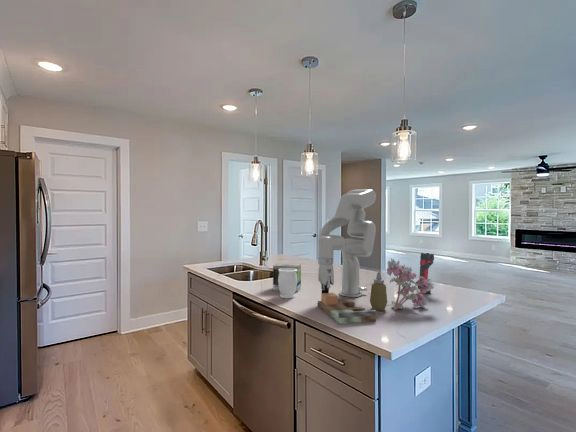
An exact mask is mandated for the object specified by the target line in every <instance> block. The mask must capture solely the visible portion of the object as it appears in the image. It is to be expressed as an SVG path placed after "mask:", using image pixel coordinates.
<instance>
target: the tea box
mask: <svg viewBox="0 0 576 432" xmlns="http://www.w3.org/2000/svg"><path fill="white" fill-rule="evenodd" d="M280 268H295V269H297V272H296V274H297V286H296V291H295V293H297V292H299V291H300V290H301V289H302V288H301V287H302V264H300V263H299V264H298V263H295V264H294V263H276V264H275V265H273V266H272V273H273V274H272V289H273V291H279V292H280V290H279V284H278V276H279V271H278V269H280Z"/></svg>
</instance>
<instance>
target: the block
mask: <svg viewBox="0 0 576 432" xmlns="http://www.w3.org/2000/svg"><path fill="white" fill-rule="evenodd" d="M320 297H321V299H320V301H321V302H323V303H324V304H325V305H332V304H338V300H339V299H338V298H339V295H337V294H336V293H334V292H329V293H322V292H321V296H320Z"/></svg>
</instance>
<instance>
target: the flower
mask: <svg viewBox="0 0 576 432" xmlns="http://www.w3.org/2000/svg"><path fill="white" fill-rule="evenodd" d="M386 271H387V272H386V273H387V275H389V276H390V277H391V276H392V274H393V275H394V277H391V278H390V279H389V284H391V282H392V283H393V282H395V283H396V284H395V286H398V289H397V292H396V294H397V298H396V301H394V300H391V306H392V307H393V309H392V311H396V310H397V309H401V310H403V308H404V305H403V304H405V303H406V302H407V300H410V301H411V302H412V303H413V304H412V305H413V306H414V307H417V308H418V307H421V308H422V309H424V308H425V307H426V306H428V302H429V301H428V299H426V298H425V296H424V294H427V293H426V292H427V291H432V290H433V289H435V287H434V286H435V284H434V282H433V281H431V280H432V279H431V278H428V279H427V280H425V278H424V277H420V276H419V277H418V279H417V280H416V281H414V279H415V278H417V274H416V272H412V271H413V269H412V268H411V266H407V267H406V265H405V264H403V265H402V264H401V265H400V260H399V259H398V260H397V261H396V260H395V258H392V257H391V258H390V259H389V260H388V261H387V268H386ZM419 279H421V280H422V281H420V280H419ZM412 284H414V285H412ZM418 286H420V287H422V288H421V289H418ZM401 287H402V288H401ZM415 291H416V292H417V293H415ZM410 292H411V293H410ZM409 293H410V294H409ZM400 295H401V296H403V297H402V298H401V299H400Z"/></svg>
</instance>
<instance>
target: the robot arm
mask: <svg viewBox="0 0 576 432" xmlns="http://www.w3.org/2000/svg"><path fill="white" fill-rule="evenodd" d="M376 198H377V193H376V192H375V190H373V189H370V188H369V189H350V190H348V191H347V192H346V193H344V194H342V195H341V197H340V199H339V202H338V205H337V208H336V210H335V214H334V216H333V217H331V218H330V219H329V220H328V221H327V222H326V223H324V225H323V226H322V228H321V230H320V232H319V237H318V240H317V241H318V242H317V243H318V250H317V251H318V252H317V253H318V254H317V258H318V260H317V264H318V282H319V283H320V285H321V286H320V287H321V293H330V292H329V291H330V288H331V286H333V285H335V284H334V283H335V278H334V277H335V275H334V274H335V273H334V272H335V270H334V251H341V258H342V260H341V261H342V266H341V268H342V269H341V271H342V272H341V274H342V276H341V281H342V282H341V290H339V291H338V292H339V293H338V294H339V295H340V296H343V297H347V298H359V297H362V295H363V293H362V292H367V291H368V288H367V286H365V287H363V286H360V266H361V265H360V261H359V259H358V257H363V258H368V257H370V256H371V255H372V253H373V250H374V244H375V239H376V234H377V228H376V227H377V226H376V224H375V223H374V222H373V221H370V220H366V214H367V213H366V211H365V209H367V208H368V207H370V206H371V205H374V203H375V202H376ZM347 224H348V225H347ZM346 225H347V235H349V237H353V238H345V237H343V236H341V235H339V234H338V235H335V234H331V233H332V232H334V230H336V229H338V228H341V227H343V226H346ZM361 238H362V239H361Z"/></svg>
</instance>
